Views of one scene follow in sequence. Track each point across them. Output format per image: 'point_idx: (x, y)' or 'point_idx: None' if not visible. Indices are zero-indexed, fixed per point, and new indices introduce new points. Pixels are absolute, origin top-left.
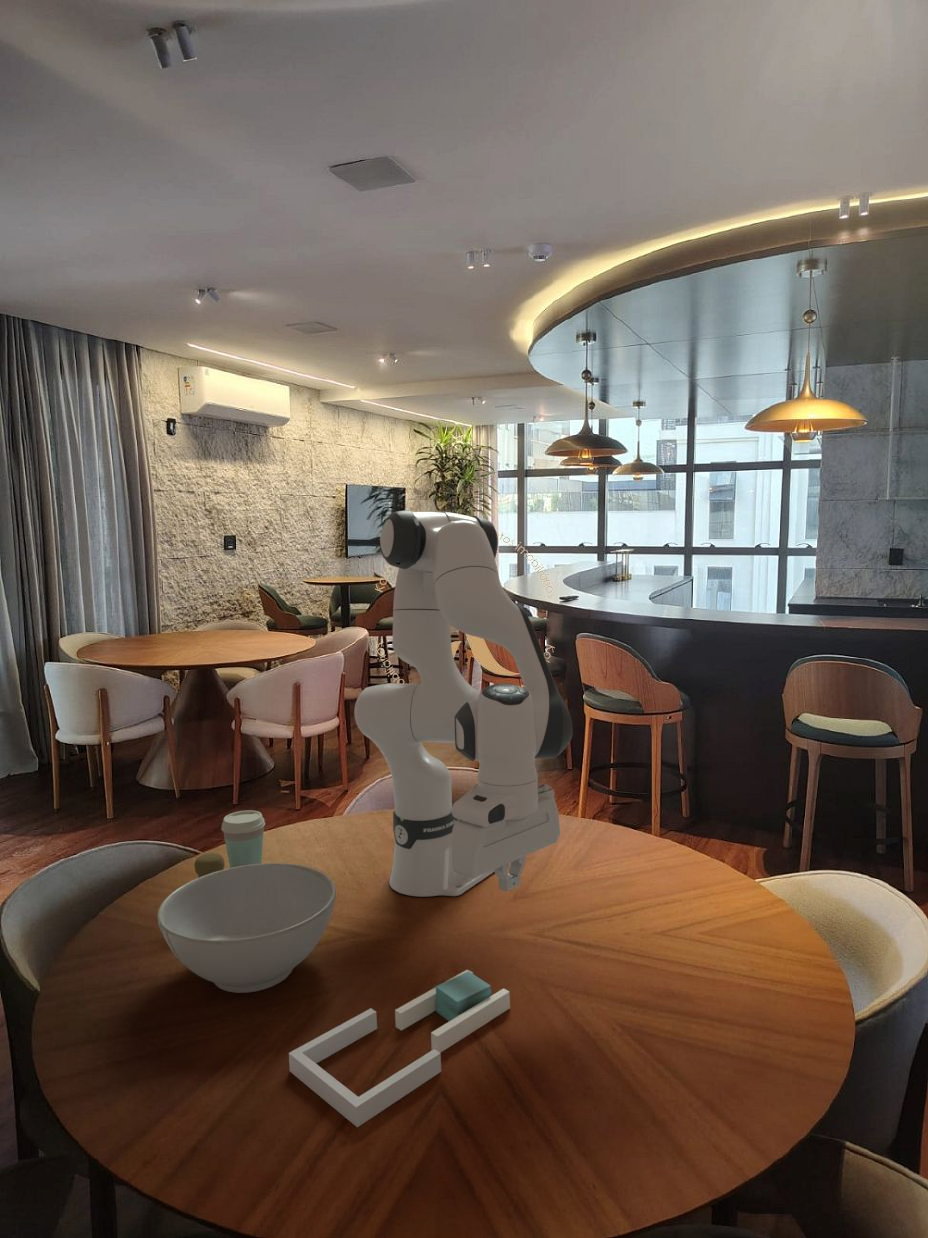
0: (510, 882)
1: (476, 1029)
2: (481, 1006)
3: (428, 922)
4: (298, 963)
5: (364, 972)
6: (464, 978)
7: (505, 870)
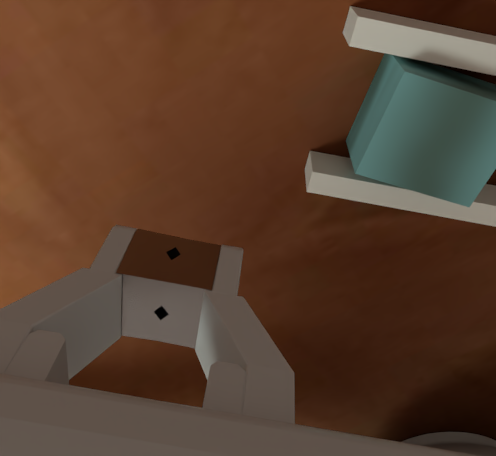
0: (206, 273)
1: (492, 35)
2: (474, 52)
3: (131, 358)
4: (475, 451)
5: (364, 356)
6: (398, 163)
7: (262, 369)
